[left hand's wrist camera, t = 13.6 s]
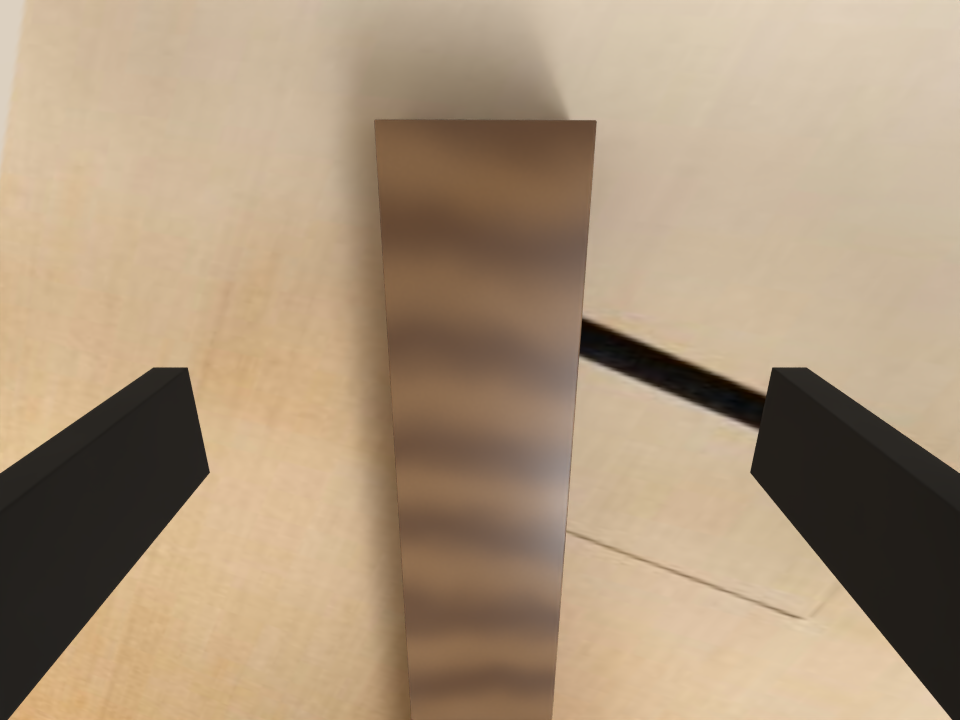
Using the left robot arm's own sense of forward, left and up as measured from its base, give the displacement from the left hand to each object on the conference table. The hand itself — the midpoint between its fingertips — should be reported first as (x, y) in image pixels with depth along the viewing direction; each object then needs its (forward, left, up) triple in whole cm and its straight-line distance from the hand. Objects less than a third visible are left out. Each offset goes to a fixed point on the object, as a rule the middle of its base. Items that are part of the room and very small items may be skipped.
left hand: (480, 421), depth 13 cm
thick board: (+17, +30, -23) cm, 41 cm away
